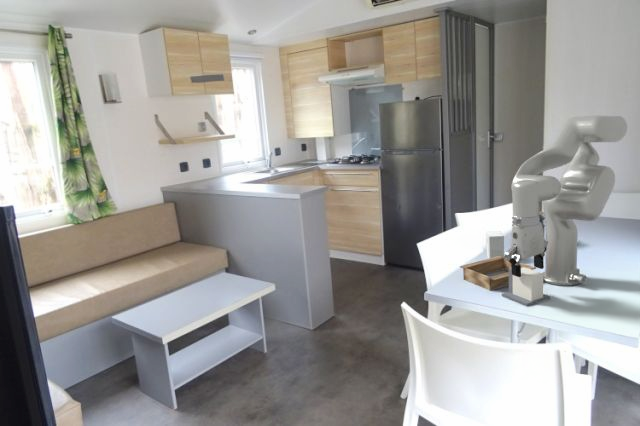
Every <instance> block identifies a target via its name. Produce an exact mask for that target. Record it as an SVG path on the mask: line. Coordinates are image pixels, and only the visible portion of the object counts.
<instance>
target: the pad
mask: <svg viewBox="0 0 640 426" xmlns="http://www.w3.org/2000/svg"><path fill="white" fill-rule="evenodd" d="M501 296H502V297H503V298H506V299H508V300H511V301H513V302H515V303H517V304H520V305H523V306H525V307H528V306H531V305H535V304H538V303H540V302H544V301H547V300H551V296H550V295H547V294H544V293H543V298H540V299H537V300H534V301H530V300H527V299H525V298H522V297H520V296H517V295H514V294H512V293H509V291H506V292H503V293H501Z"/></svg>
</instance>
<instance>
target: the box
mask: <svg viewBox="0 0 640 426" xmlns="http://www.w3.org/2000/svg"><path fill="white" fill-rule="evenodd" d="M508 272H509V285H508V292H509V293H512V294H514V295H517V296H520V297H522V298H525V299H527V300H530V301H534V300H537V299H540V298H543V294H544V281H543V272H541V271H537V270H535V269H533V270H531V269H528V268H525V267H522V266H521V277H517V276H514V275H512V269H509V271H508Z"/></svg>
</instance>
